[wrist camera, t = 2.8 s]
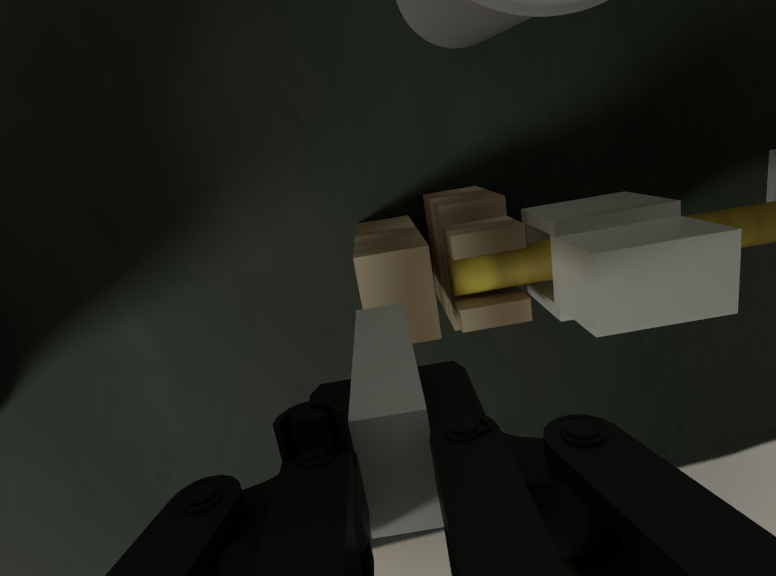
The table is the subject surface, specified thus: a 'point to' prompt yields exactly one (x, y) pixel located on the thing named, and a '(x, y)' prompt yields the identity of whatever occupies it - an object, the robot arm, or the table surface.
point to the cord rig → (484, 258)
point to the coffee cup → (478, 17)
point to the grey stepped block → (633, 263)
